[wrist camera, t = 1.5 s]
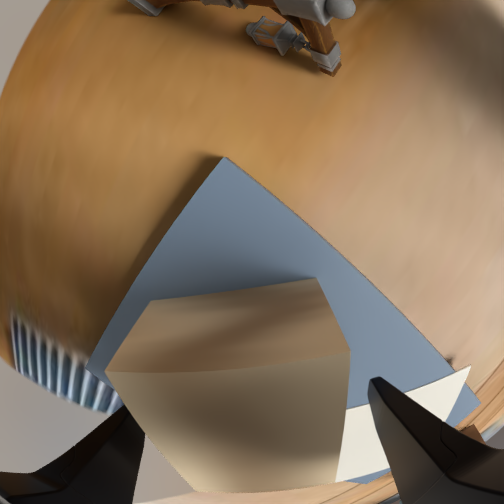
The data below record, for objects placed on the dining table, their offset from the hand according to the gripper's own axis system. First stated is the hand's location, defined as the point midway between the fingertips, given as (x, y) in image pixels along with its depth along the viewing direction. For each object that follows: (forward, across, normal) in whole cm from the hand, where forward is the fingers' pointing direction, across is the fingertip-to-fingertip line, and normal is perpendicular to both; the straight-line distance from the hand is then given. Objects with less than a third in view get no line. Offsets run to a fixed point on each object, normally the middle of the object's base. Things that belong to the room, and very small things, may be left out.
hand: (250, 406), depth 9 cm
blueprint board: (+3, -4, +5) cm, 7 cm away
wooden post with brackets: (+3, -2, -14) cm, 14 cm away
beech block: (+2, 0, 0) cm, 2 cm away
